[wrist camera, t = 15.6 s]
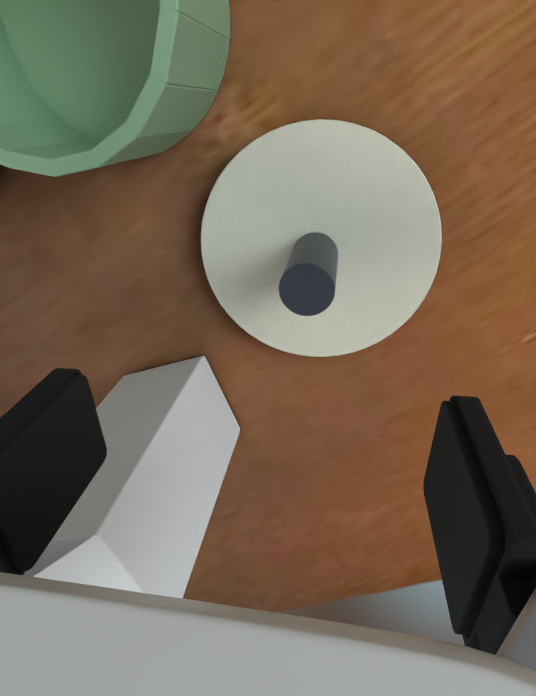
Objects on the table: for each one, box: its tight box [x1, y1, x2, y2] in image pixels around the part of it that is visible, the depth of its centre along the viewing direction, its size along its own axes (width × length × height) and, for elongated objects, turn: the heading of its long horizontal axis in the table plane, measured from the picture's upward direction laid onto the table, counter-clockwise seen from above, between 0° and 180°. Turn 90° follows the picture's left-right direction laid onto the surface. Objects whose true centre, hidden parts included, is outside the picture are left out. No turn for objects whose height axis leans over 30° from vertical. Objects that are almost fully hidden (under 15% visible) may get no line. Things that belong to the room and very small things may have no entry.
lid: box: [201, 119, 442, 357], centre depth 22 cm, size 14×14×7 cm
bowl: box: [0, 0, 230, 177], centre depth 18 cm, size 13×13×8 cm
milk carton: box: [23, 356, 240, 598], centre depth 25 cm, size 7×7×19 cm
